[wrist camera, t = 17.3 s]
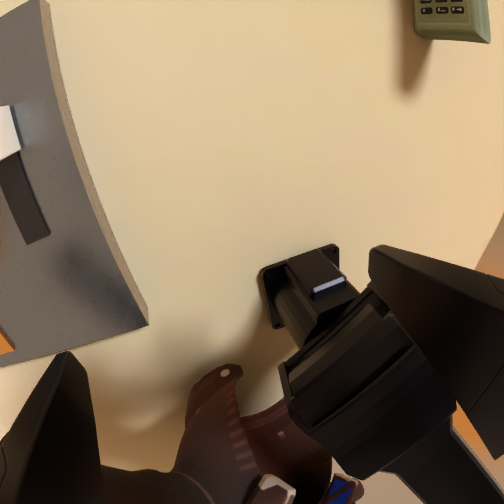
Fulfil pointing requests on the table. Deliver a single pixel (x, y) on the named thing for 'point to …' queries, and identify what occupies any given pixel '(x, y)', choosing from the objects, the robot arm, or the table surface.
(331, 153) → the table surface
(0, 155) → the switch
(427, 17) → the handheld radio
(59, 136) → the breaker panel
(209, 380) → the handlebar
